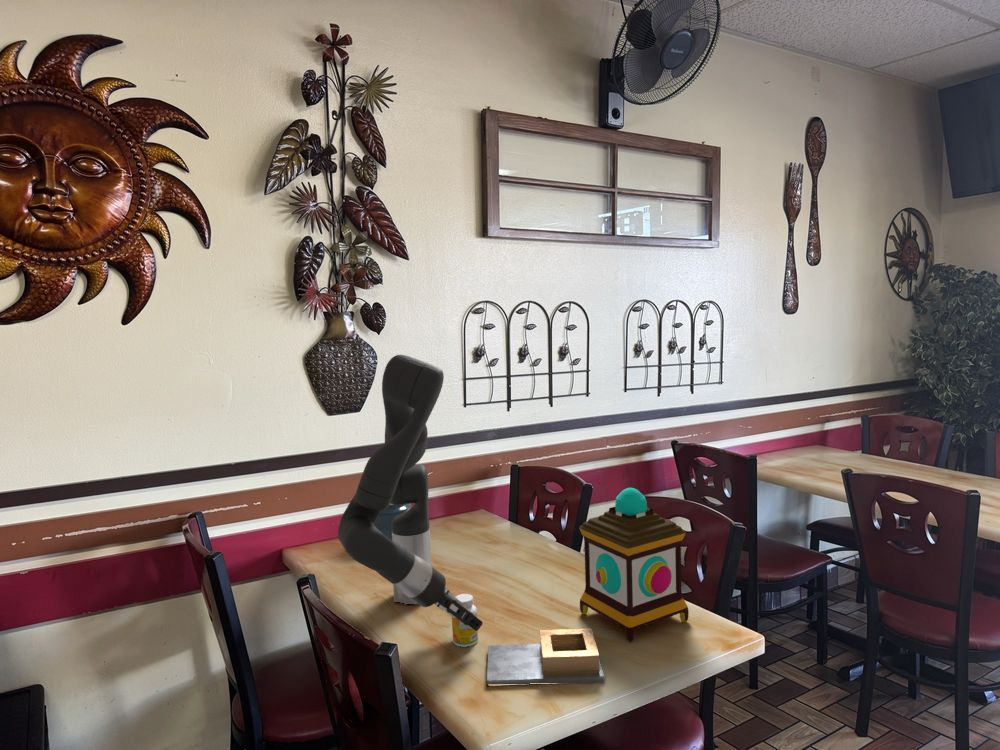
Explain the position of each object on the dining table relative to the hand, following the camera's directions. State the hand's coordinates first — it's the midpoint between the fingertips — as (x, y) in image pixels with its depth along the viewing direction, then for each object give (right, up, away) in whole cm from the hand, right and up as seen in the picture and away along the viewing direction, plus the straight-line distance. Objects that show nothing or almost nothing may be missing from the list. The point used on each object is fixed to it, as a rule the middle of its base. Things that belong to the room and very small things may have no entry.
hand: (470, 618), depth 142 cm
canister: (-27, 0, +62) cm, 67 cm away
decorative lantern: (+36, -3, +8) cm, 37 cm away
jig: (+15, -5, -11) cm, 19 cm away
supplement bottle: (-1, -5, 0) cm, 5 cm away
